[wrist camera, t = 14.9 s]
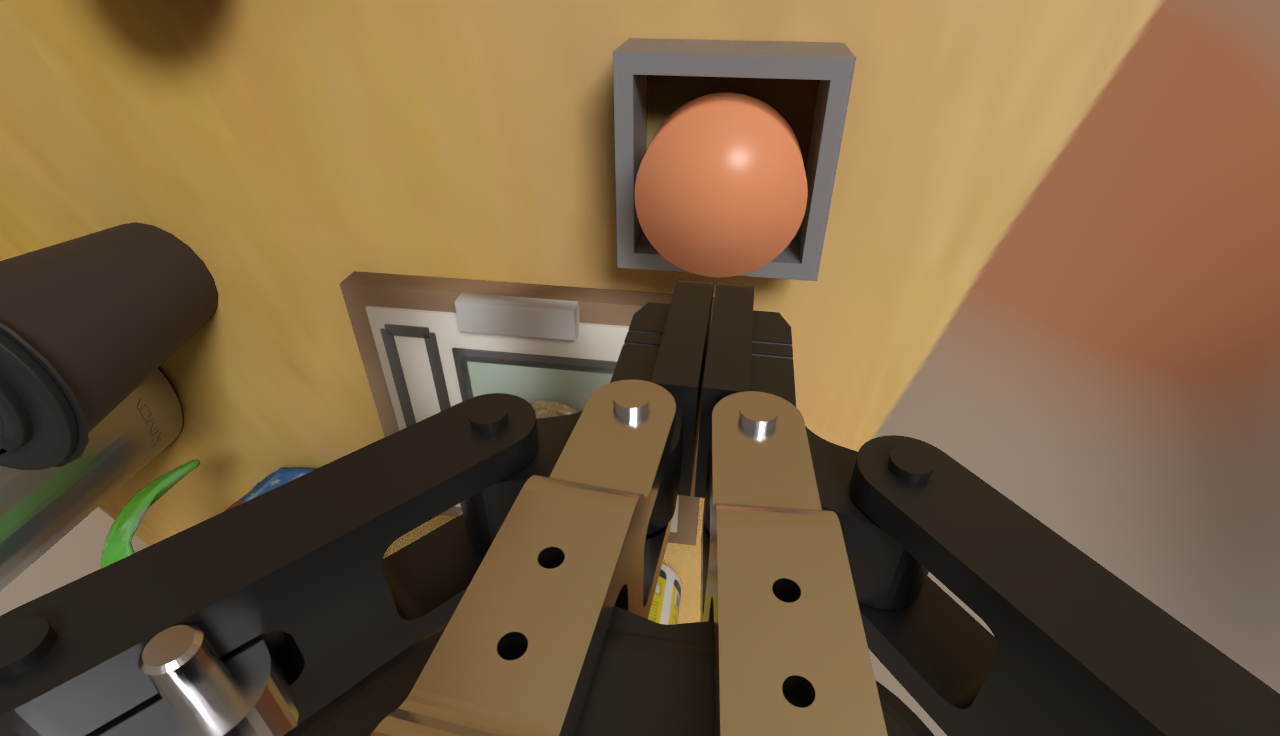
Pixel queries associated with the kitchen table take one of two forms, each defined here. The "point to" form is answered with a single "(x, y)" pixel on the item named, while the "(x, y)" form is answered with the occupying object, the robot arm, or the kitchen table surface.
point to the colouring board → (491, 348)
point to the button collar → (744, 62)
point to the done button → (722, 186)
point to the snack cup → (138, 505)
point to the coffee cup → (89, 333)
